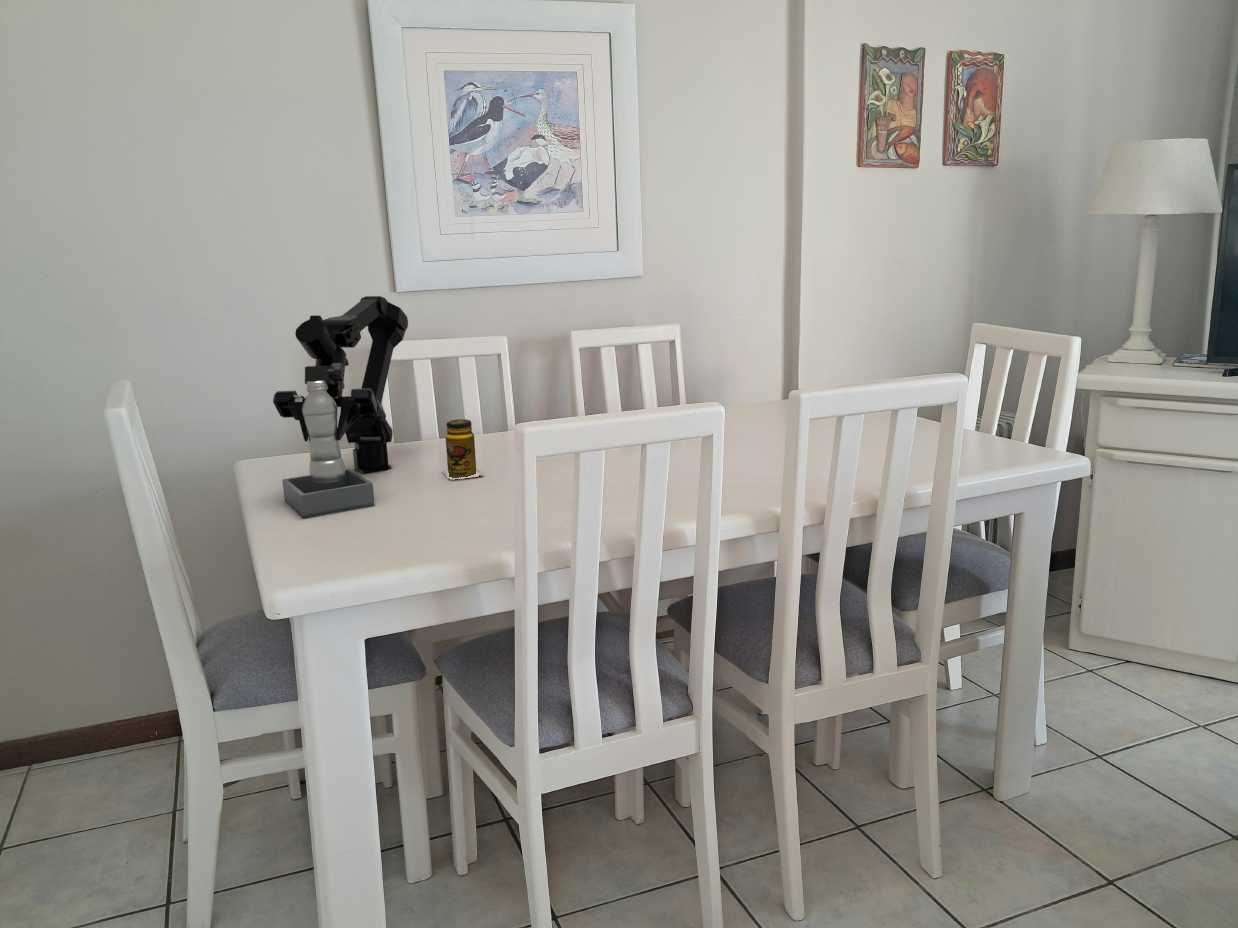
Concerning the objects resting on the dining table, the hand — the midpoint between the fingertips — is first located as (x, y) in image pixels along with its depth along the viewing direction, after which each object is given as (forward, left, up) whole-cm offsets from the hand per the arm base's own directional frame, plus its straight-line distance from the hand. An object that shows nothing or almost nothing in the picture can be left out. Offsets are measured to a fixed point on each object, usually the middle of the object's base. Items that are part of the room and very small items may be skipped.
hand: (321, 440), depth 177 cm
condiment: (-30, -5, -13) cm, 34 cm away
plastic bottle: (0, 0, -9) cm, 9 cm away
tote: (0, -1, -13) cm, 13 cm away
